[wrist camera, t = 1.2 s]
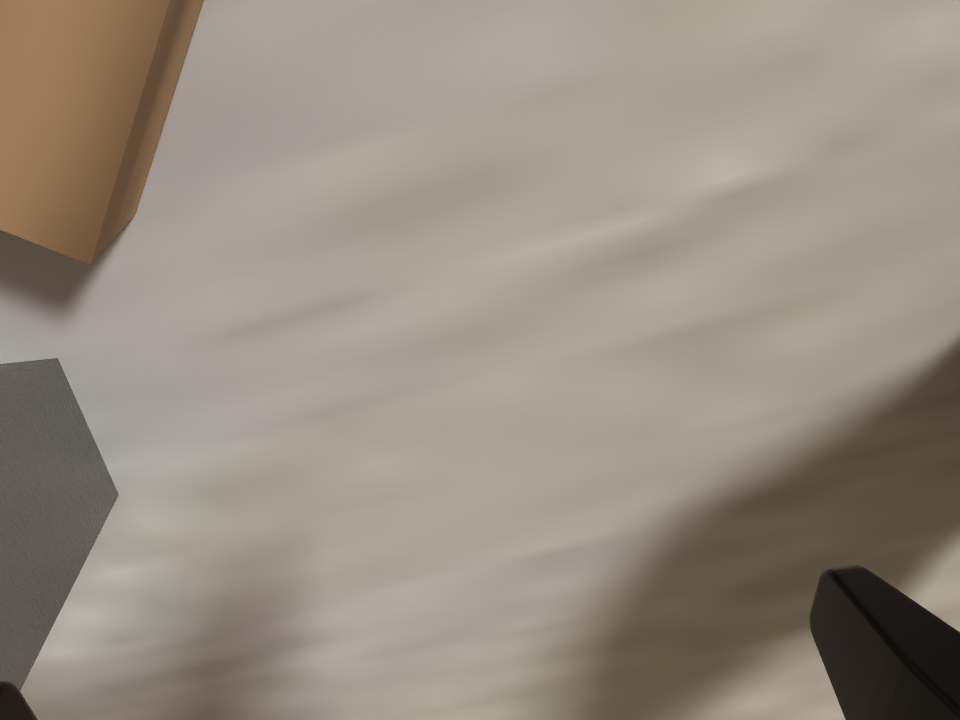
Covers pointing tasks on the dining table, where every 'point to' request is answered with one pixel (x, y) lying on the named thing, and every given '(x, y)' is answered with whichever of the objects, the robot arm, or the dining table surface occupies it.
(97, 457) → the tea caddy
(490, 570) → the dining table surface
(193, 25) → the tan wooden flat block
